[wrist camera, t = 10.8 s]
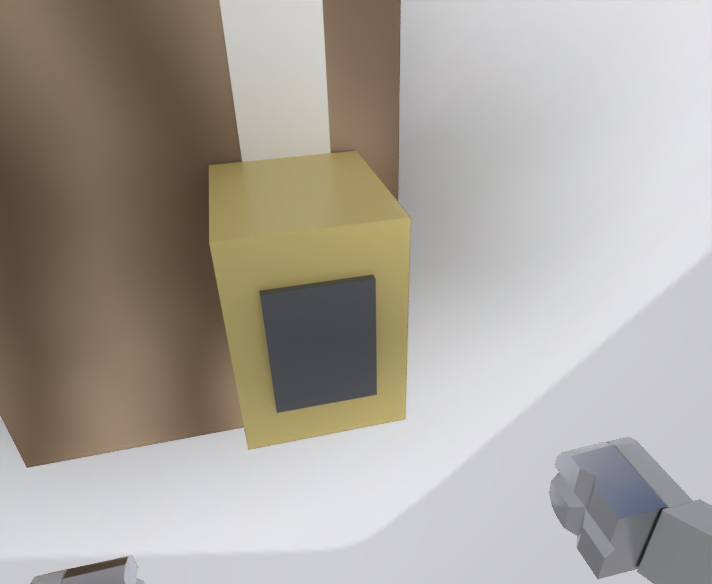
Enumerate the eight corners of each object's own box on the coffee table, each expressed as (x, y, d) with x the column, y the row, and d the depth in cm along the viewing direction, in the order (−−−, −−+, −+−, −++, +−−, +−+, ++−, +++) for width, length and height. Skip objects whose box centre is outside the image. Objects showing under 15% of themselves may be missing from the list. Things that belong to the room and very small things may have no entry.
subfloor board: (36, 441, 24) (25, 471, 22) (-171, 4, 15) (-210, 8, 14) (386, 378, 27) (396, 402, 25) (387, -19, 18) (402, -17, 16)
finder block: (239, 337, 21) (248, 456, 16) (208, 165, 18) (209, 247, 13) (361, 317, 22) (408, 424, 17) (356, 150, 19) (413, 221, 14)
